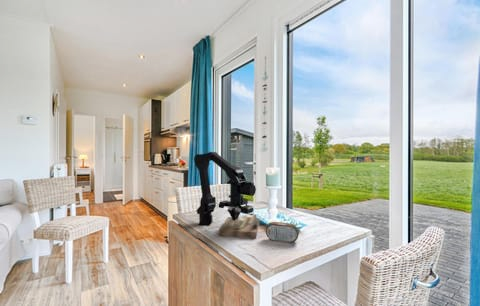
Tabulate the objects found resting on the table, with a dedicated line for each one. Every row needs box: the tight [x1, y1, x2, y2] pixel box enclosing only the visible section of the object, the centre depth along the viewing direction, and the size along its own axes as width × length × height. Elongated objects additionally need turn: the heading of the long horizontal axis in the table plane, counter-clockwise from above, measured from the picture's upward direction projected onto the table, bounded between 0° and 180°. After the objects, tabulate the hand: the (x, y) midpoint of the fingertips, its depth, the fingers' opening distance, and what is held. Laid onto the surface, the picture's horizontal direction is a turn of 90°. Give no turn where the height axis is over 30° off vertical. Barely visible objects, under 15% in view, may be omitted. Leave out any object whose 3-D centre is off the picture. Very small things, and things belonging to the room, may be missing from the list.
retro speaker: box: [265, 221, 300, 244], centre depth 108 cm, size 15×3×8 cm, turn 74°
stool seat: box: [218, 216, 260, 240], centre depth 123 cm, size 18×22×5 cm
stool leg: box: [234, 212, 257, 229], centre depth 122 cm, size 16×4×4 cm, turn 143°
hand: (235, 223), depth 121 cm, fingers closed
